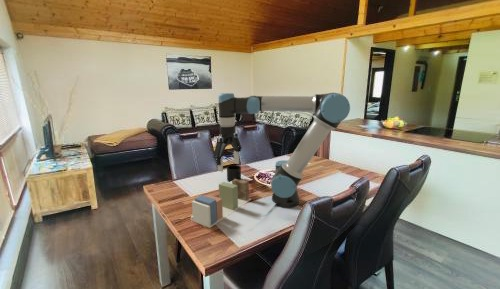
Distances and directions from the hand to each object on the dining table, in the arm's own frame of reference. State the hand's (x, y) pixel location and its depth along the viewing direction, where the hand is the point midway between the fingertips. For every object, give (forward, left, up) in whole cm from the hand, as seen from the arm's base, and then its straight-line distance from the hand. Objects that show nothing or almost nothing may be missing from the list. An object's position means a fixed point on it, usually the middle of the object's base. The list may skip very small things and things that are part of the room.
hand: (228, 167), depth 128 cm
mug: (+21, -33, -23) cm, 45 cm away
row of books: (+1, +4, -23) cm, 23 cm away
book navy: (0, +18, -21) cm, 28 cm away
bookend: (+1, -11, -21) cm, 24 cm away
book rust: (0, +13, -21) cm, 25 cm away
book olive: (0, +1, -21) cm, 21 cm away
